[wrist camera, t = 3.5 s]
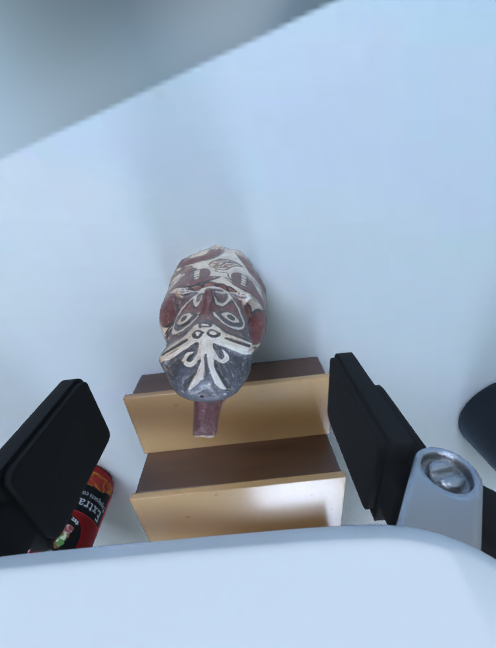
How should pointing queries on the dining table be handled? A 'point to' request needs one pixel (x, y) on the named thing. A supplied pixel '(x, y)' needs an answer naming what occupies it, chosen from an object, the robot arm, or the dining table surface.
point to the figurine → (211, 330)
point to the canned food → (86, 514)
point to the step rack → (238, 457)
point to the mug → (481, 424)
